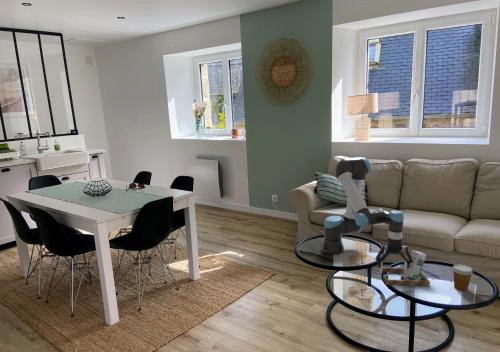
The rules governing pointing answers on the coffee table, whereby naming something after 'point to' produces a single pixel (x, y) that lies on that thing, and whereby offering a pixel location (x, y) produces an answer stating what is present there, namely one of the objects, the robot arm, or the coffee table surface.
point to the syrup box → (416, 264)
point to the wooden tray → (404, 278)
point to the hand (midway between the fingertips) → (393, 272)
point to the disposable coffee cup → (462, 277)
